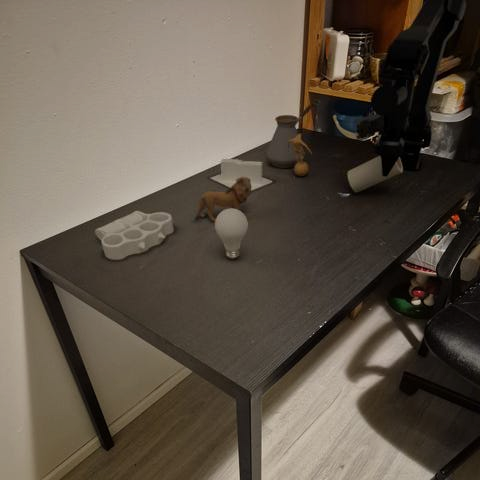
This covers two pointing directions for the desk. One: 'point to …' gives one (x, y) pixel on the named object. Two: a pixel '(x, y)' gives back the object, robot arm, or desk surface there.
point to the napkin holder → (241, 173)
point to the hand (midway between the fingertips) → (386, 171)
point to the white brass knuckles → (134, 233)
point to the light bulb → (231, 230)
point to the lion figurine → (225, 197)
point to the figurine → (301, 166)
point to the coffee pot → (285, 140)
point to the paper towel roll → (371, 174)
